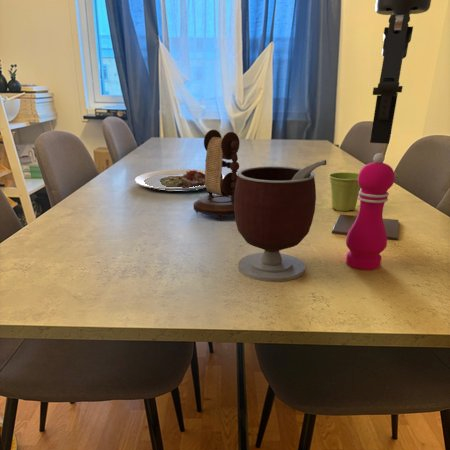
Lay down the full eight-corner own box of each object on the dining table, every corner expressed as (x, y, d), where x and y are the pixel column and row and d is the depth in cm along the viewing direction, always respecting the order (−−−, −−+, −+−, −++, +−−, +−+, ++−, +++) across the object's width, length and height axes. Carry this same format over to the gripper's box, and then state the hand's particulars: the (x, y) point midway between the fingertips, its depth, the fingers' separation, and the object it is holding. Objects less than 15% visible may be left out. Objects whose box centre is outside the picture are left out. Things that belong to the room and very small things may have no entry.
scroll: (182, 212, 113) (178, 130, 104) (225, 202, 121) (225, 126, 112) (218, 225, 103) (217, 136, 94) (262, 213, 111) (265, 131, 102)
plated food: (118, 190, 134) (116, 179, 133) (159, 172, 160) (158, 163, 158) (209, 197, 126) (208, 186, 125) (237, 177, 152) (237, 167, 150)
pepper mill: (386, 260, 83) (406, 151, 73) (377, 274, 77) (397, 157, 68) (349, 254, 86) (363, 148, 77) (338, 266, 80) (352, 154, 71)
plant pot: (323, 211, 113) (326, 177, 109) (327, 202, 121) (330, 171, 117) (360, 214, 110) (365, 180, 106) (362, 205, 118) (366, 173, 114)
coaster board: (398, 222, 105) (398, 219, 104) (397, 240, 93) (397, 237, 93) (339, 216, 109) (339, 214, 109) (331, 233, 97) (331, 230, 97)
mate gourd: (219, 271, 78) (217, 157, 69) (257, 249, 88) (260, 146, 79) (297, 292, 70) (307, 166, 61) (329, 265, 81) (342, 153, 71)
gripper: (382, -5, 73) (363, 129, 83) (374, -39, 52) (350, 146, 62) (430, -8, 71) (405, 131, 80) (442, -44, 50) (405, 149, 60)
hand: (381, 138), depth 71 cm, fingers open, 13 cm apart
